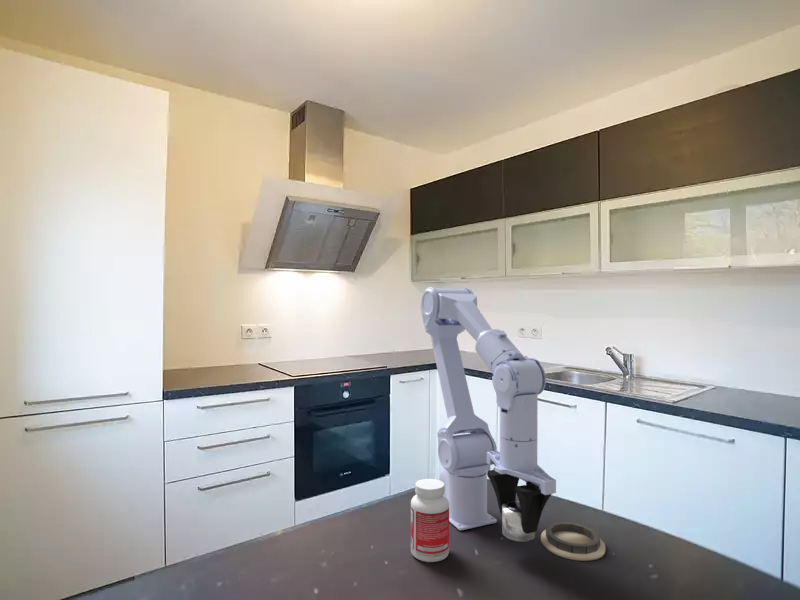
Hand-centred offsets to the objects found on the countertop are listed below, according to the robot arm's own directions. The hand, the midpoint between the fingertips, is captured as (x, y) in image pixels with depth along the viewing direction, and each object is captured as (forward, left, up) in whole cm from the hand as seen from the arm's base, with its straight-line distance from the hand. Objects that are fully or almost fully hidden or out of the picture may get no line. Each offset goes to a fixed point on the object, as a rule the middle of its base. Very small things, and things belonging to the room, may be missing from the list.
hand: (518, 523), depth 72 cm
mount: (0, +11, -5) cm, 12 cm away
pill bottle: (-7, -12, -6) cm, 15 cm away
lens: (0, 0, -2) cm, 2 cm away
